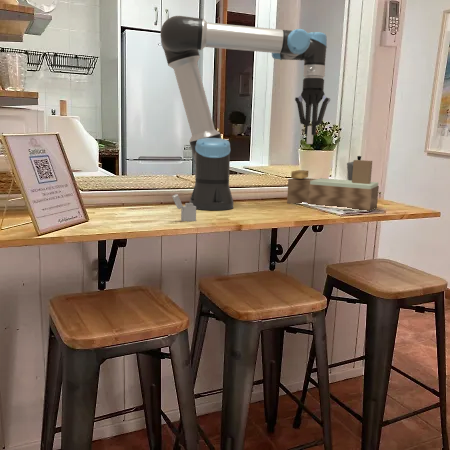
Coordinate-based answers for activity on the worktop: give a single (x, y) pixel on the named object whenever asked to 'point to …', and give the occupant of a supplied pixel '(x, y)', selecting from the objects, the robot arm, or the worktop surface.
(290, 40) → the robot arm
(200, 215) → the worktop surface
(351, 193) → the brown wooden box
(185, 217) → the lighter
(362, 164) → the lid
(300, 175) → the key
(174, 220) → the worktop surface
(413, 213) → the worktop surface
